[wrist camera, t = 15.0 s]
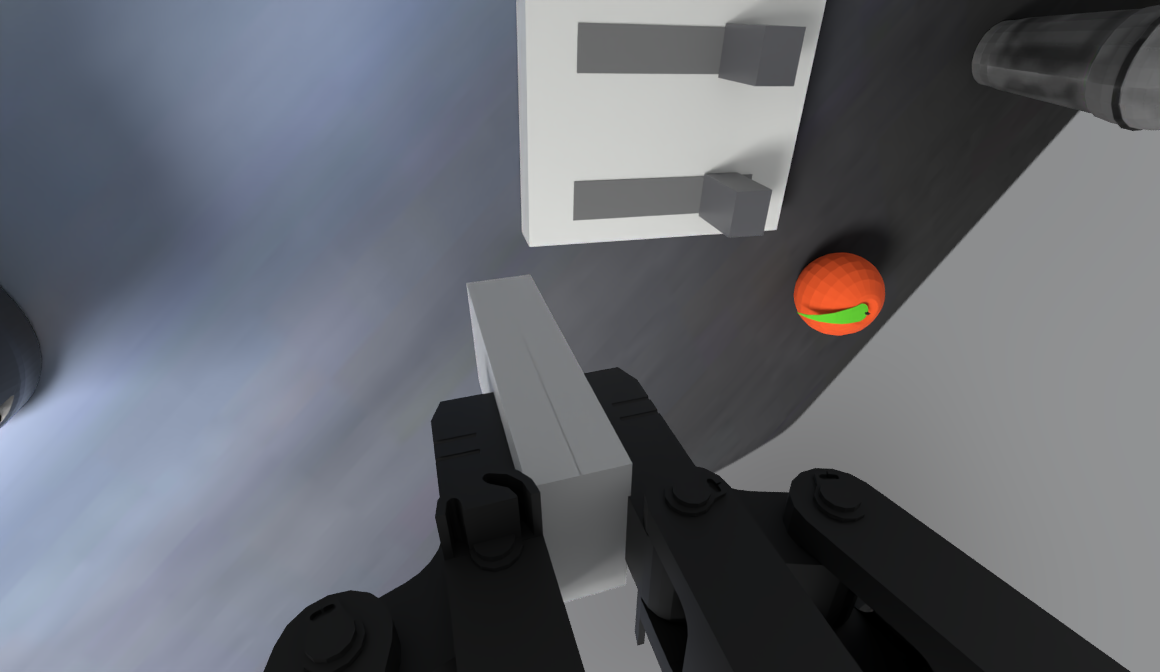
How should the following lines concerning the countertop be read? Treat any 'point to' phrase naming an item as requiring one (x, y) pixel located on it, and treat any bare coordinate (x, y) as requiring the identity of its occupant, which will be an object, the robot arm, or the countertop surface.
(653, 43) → the breaker panel
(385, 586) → the countertop surface
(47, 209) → the countertop surface
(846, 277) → the clementine
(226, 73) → the countertop surface
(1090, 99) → the beverage cup
